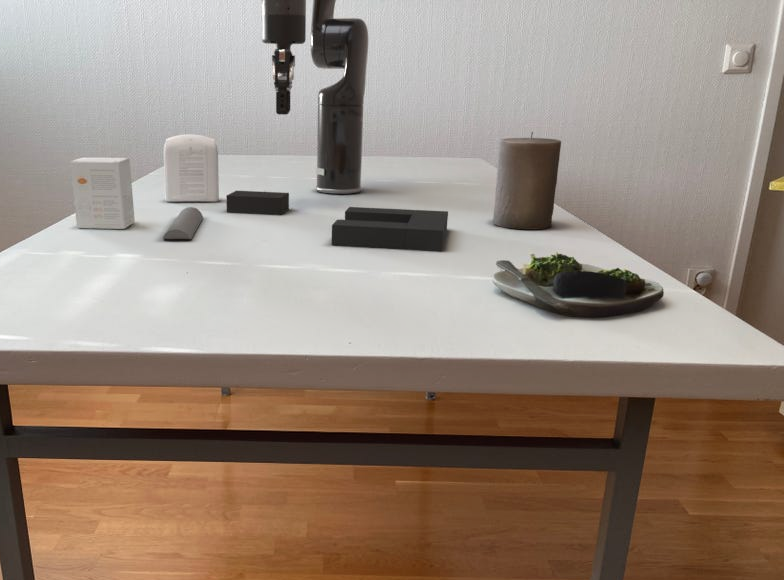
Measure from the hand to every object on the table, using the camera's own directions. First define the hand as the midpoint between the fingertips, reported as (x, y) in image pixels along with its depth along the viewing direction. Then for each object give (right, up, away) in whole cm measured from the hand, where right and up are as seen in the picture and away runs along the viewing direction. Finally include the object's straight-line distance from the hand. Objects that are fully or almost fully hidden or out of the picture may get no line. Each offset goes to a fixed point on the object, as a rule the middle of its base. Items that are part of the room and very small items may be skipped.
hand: (283, 113), depth 138 cm
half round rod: (-15, -23, -14) cm, 31 cm away
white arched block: (-18, -13, +12) cm, 25 cm away
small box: (-28, -22, -12) cm, 38 cm away
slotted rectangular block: (+17, -25, -18) cm, 35 cm away
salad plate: (+35, -37, -49) cm, 70 cm away
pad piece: (-5, -17, +2) cm, 18 cm away
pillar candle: (+40, -21, -7) cm, 46 cm away
